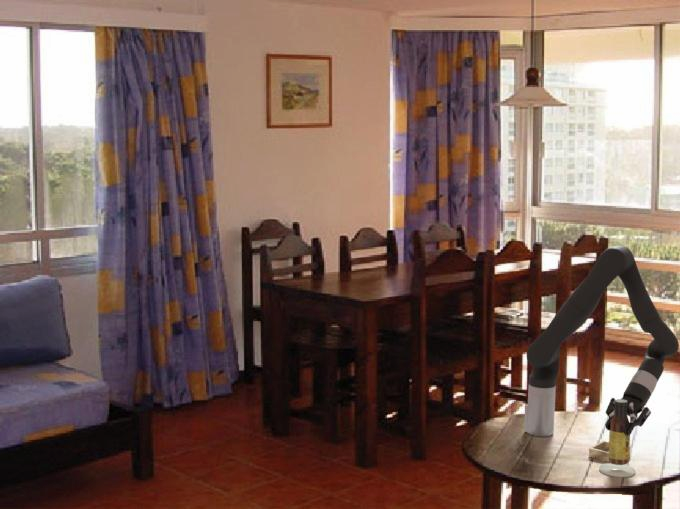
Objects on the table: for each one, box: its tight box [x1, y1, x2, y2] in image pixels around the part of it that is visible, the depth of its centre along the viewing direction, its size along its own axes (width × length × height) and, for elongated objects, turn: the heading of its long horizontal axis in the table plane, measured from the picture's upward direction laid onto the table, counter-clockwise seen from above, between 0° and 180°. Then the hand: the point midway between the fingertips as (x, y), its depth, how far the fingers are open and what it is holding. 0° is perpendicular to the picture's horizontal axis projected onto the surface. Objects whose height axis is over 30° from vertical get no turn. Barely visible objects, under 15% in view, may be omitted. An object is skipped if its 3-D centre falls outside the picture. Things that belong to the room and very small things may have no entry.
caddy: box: [588, 440, 631, 463], centre depth 344 cm, size 9×10×3 cm
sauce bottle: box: [608, 398, 631, 465], centre depth 329 cm, size 7×6×20 cm
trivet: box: [598, 462, 636, 478], centre depth 331 cm, size 11×11×1 cm
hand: (616, 431), depth 328 cm, fingers closed on sauce bottle, 6 cm apart
